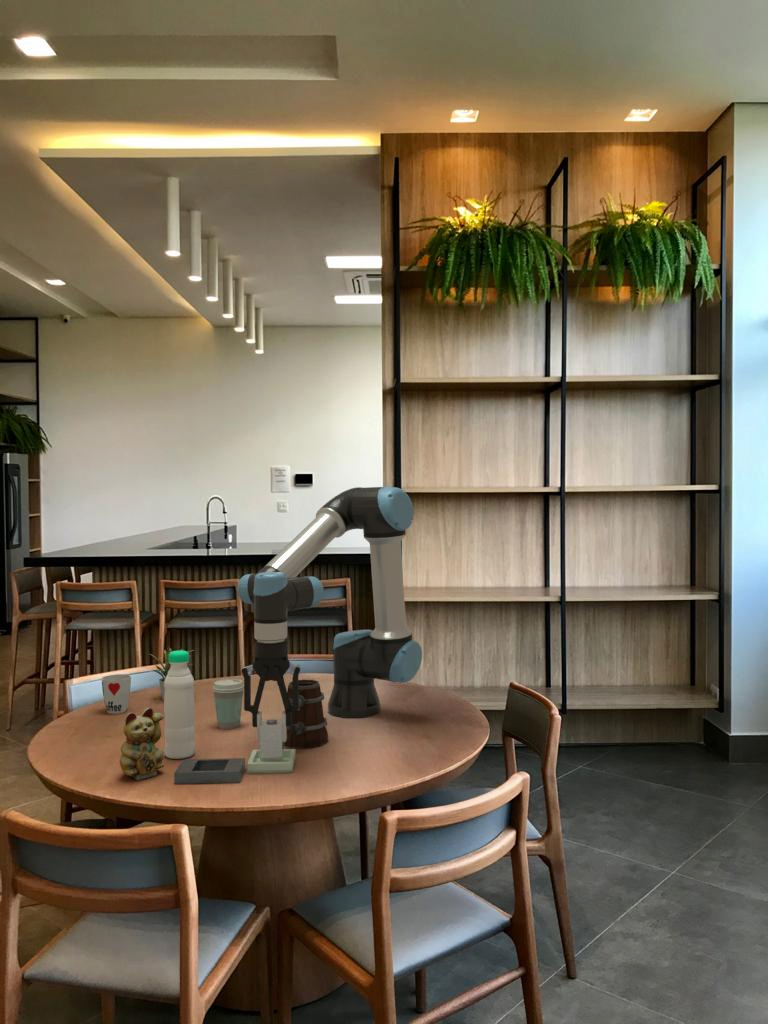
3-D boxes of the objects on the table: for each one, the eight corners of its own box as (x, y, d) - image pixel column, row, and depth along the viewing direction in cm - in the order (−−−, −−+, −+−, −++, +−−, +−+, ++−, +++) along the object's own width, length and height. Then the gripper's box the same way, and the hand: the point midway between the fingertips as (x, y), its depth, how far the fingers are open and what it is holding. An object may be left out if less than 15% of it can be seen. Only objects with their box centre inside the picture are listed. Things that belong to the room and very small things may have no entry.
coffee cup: (237, 731, 211) (237, 686, 210) (207, 729, 212) (207, 685, 212) (249, 722, 219) (249, 679, 219) (220, 720, 221) (220, 677, 221)
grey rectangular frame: (245, 768, 182) (245, 758, 182) (239, 782, 173) (239, 771, 173) (183, 769, 181) (183, 759, 181) (174, 783, 172) (174, 772, 172)
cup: (95, 713, 229) (95, 679, 229) (115, 706, 237) (114, 673, 236) (118, 716, 226) (118, 681, 226) (137, 709, 234) (136, 675, 233)
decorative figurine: (130, 784, 172) (129, 715, 172) (110, 776, 177) (110, 709, 177) (169, 773, 179) (168, 706, 179) (149, 764, 185) (148, 700, 184)
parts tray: (295, 758, 189) (295, 749, 189) (292, 772, 179) (292, 763, 179) (253, 759, 188) (253, 749, 188) (247, 773, 178) (247, 764, 178)
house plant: (208, 697, 247) (207, 645, 247) (174, 707, 235) (173, 652, 235) (176, 691, 255) (175, 640, 254) (141, 701, 243) (141, 647, 243)
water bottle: (179, 761, 187) (178, 655, 186) (158, 756, 190) (157, 652, 190) (201, 753, 193) (200, 650, 192) (180, 748, 196) (179, 647, 196)
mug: (289, 733, 208) (288, 676, 208) (333, 736, 206) (333, 678, 206) (269, 752, 193) (268, 691, 193) (317, 755, 191) (317, 693, 190)
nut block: (284, 752, 186) (283, 717, 186) (282, 760, 181) (281, 723, 181) (262, 753, 186) (262, 718, 186) (260, 760, 181) (259, 724, 181)
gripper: (311, 636, 187) (312, 734, 187) (233, 637, 186) (235, 736, 187) (309, 642, 179) (310, 744, 180) (228, 643, 179) (230, 746, 179)
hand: (272, 740), depth 183 cm, fingers closed on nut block, 5 cm apart
